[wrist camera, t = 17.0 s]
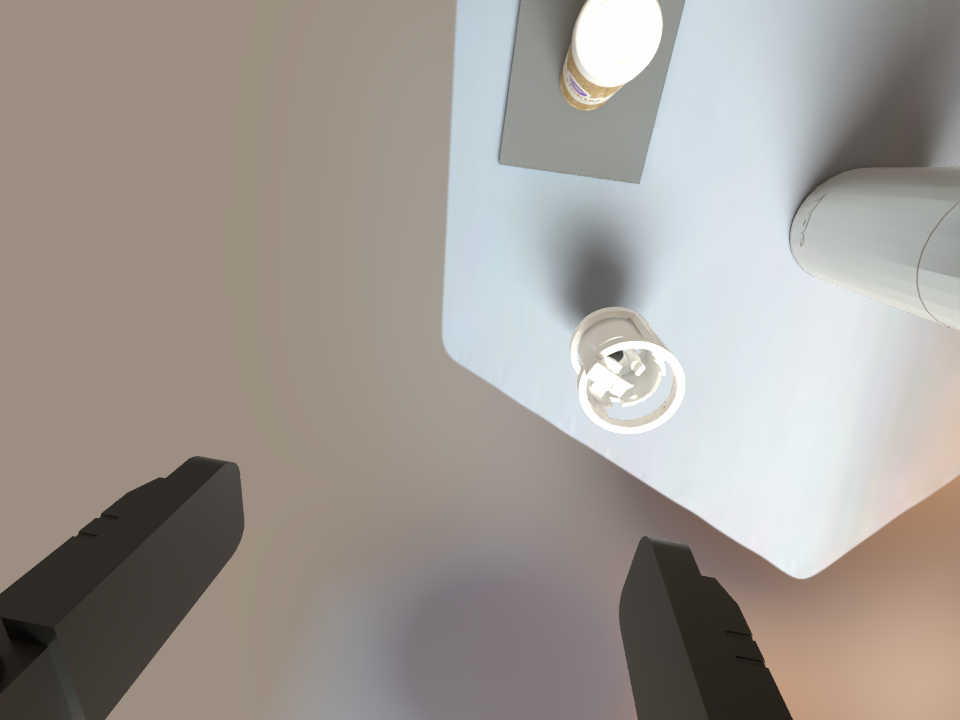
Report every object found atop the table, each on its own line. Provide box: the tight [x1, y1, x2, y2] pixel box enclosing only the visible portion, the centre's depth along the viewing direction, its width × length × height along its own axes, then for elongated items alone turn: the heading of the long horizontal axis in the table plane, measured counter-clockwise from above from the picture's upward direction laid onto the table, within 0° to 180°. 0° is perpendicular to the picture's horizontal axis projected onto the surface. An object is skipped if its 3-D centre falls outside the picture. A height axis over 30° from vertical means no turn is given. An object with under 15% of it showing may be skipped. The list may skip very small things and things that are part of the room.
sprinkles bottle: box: [560, 0, 663, 111], centre depth 30 cm, size 5×5×13 cm
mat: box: [499, 0, 685, 184], centre depth 36 cm, size 12×14×1 cm
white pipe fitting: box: [570, 307, 685, 434], centre depth 37 cm, size 7×7×15 cm
